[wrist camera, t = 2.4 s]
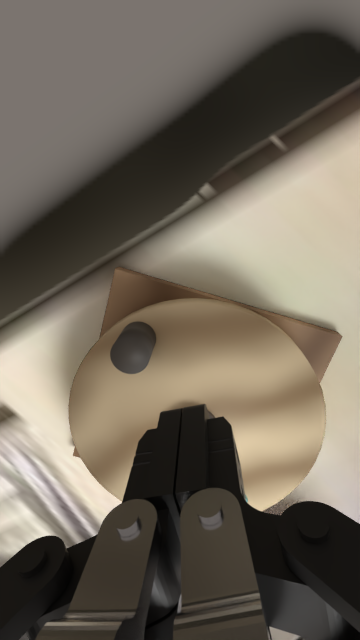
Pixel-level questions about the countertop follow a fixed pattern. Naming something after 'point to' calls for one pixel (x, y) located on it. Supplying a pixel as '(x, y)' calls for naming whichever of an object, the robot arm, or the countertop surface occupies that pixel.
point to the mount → (145, 290)
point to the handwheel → (200, 392)
